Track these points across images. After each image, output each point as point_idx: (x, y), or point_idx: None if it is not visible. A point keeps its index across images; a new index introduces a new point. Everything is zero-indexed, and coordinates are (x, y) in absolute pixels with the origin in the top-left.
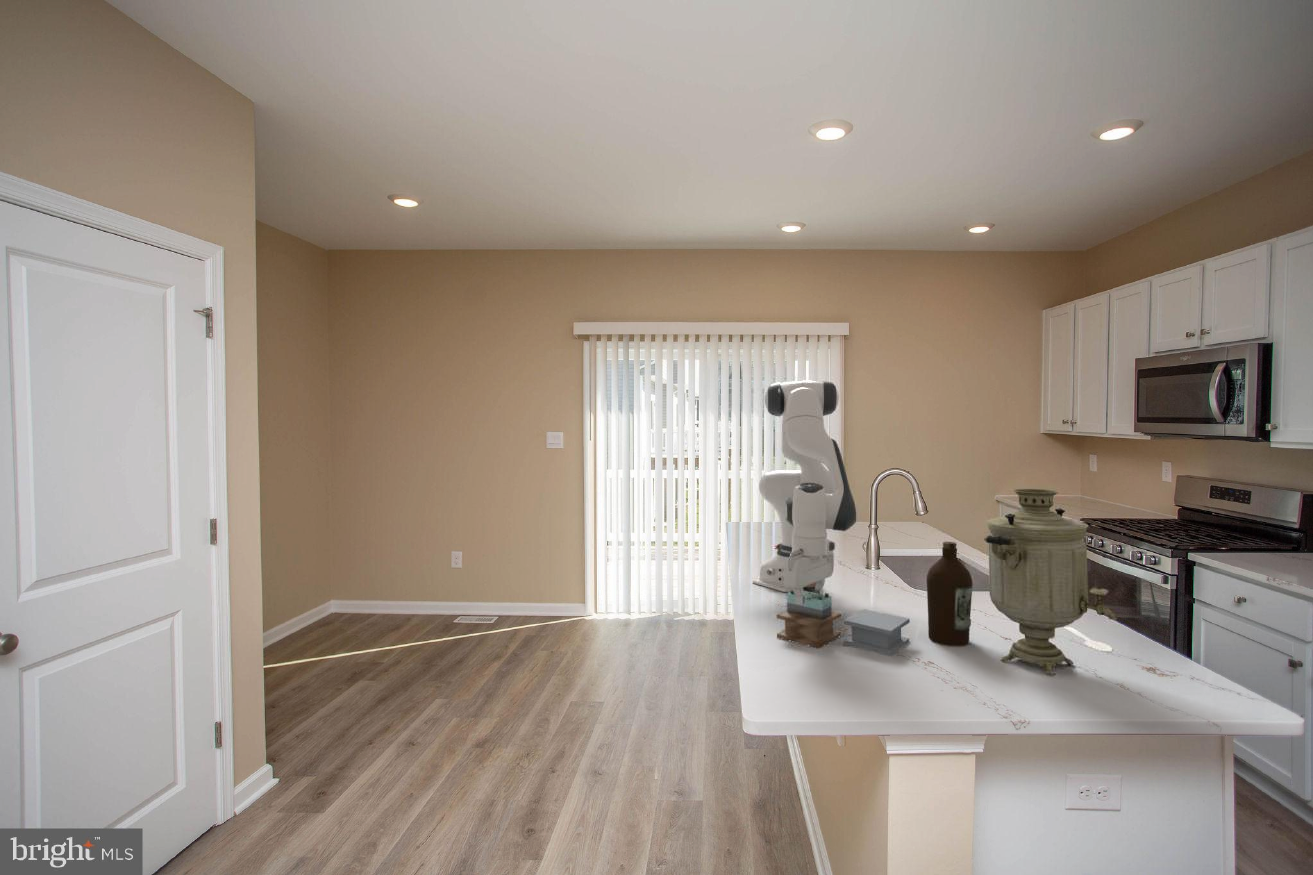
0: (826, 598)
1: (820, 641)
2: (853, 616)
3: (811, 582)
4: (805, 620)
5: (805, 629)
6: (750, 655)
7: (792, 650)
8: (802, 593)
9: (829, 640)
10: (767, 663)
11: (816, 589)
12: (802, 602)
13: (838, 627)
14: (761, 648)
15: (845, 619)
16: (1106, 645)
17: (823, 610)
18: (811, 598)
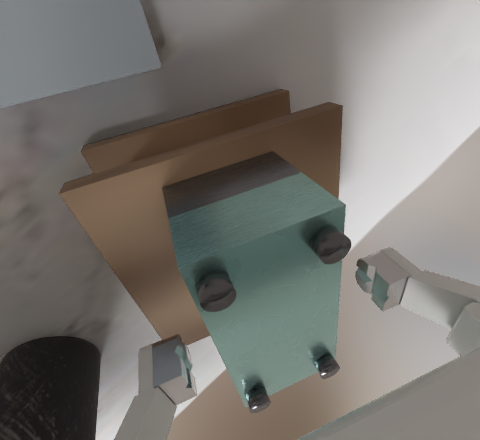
0: (273, 234)
1: (256, 115)
2: (6, 80)
3: (444, 393)
4: (329, 189)
5: None
6: (431, 167)
7: (349, 134)
8: (290, 352)
9: (199, 115)
10: (464, 99)
11: (183, 391)
12: (392, 252)
13: (18, 228)
14: (381, 190)
15: (135, 70)
16: None
17: (286, 174)
18: (338, 273)
